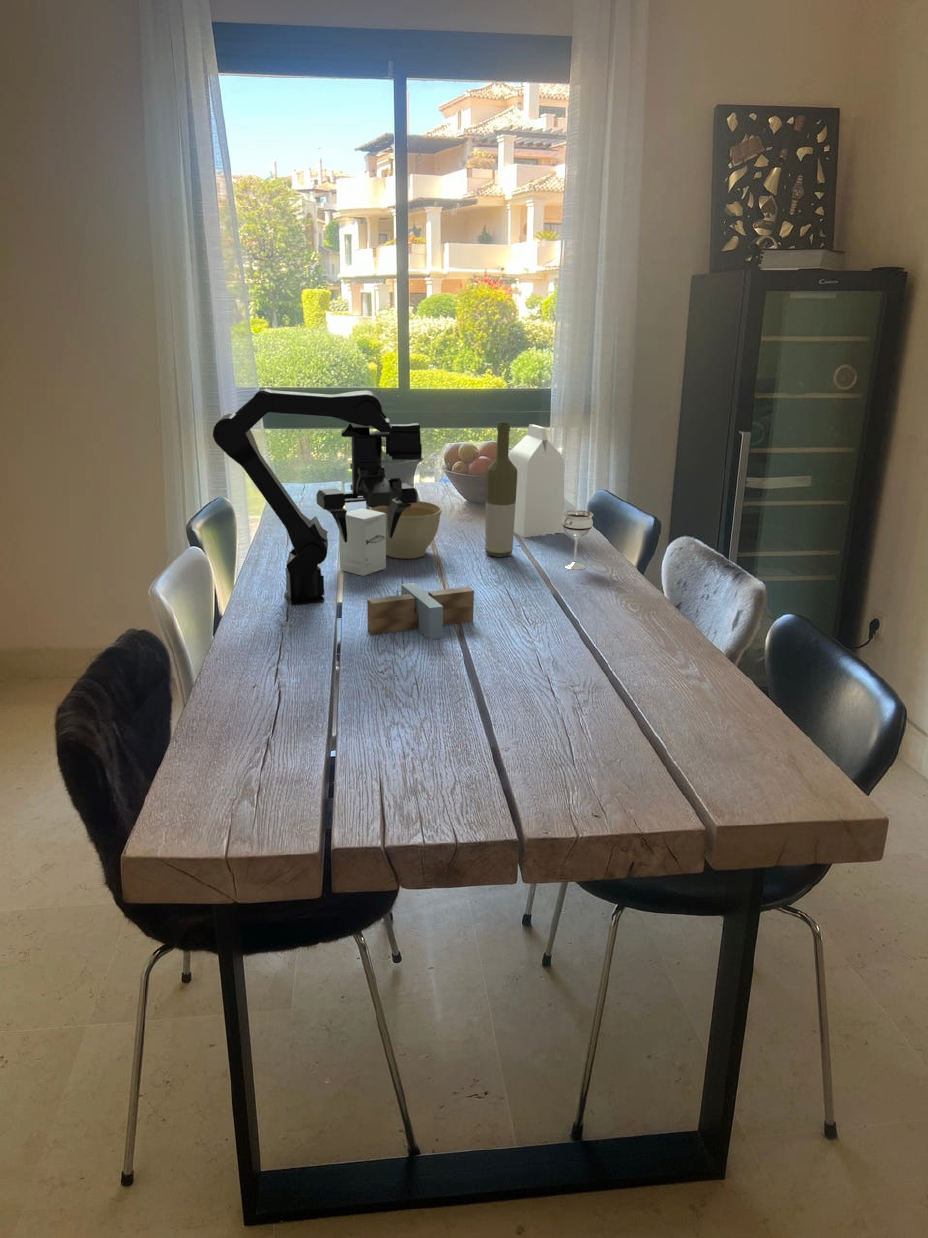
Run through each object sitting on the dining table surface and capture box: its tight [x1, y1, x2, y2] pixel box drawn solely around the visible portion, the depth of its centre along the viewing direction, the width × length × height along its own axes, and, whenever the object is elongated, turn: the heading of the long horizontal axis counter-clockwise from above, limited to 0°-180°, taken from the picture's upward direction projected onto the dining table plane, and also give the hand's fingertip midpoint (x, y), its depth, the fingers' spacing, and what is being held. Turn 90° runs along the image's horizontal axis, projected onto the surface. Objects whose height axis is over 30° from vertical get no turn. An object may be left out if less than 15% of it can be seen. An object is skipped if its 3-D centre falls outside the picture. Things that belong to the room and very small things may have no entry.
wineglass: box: [562, 509, 594, 570], centre depth 209 cm, size 7×7×12 cm
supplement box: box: [338, 508, 387, 577], centre depth 203 cm, size 7×7×13 cm
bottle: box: [484, 422, 518, 558], centre depth 213 cm, size 7×7×30 cm
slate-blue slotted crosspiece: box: [400, 582, 444, 641], centre depth 173 cm, size 14×2×6 cm, turn 25°
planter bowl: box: [369, 500, 442, 560], centre depth 215 cm, size 16×16×11 cm
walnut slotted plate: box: [366, 586, 475, 636], centre depth 173 cm, size 20×2×6 cm, turn 115°
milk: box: [508, 423, 566, 538], centre depth 235 cm, size 12×12×26 cm
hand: (368, 539), depth 184 cm, fingers open, 9 cm apart
